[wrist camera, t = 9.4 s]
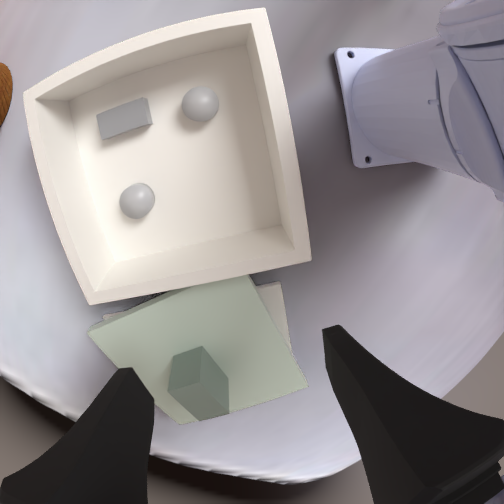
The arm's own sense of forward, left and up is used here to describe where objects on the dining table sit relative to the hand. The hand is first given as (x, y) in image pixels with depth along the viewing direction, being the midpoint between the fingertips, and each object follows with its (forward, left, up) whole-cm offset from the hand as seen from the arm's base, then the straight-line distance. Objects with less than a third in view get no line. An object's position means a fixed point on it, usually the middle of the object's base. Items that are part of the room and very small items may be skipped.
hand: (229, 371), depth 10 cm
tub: (+2, -7, -10) cm, 13 cm away
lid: (+4, +8, -9) cm, 13 cm away
